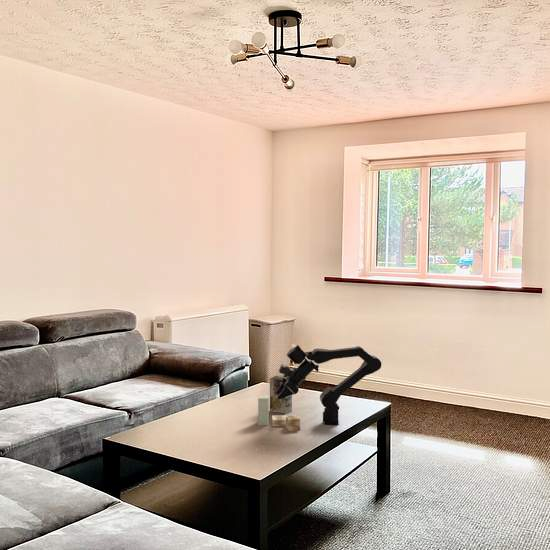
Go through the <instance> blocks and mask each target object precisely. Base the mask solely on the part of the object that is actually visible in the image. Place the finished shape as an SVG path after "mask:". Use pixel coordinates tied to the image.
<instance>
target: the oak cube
mask: <svg viewBox="0 0 550 550" xmlns="http://www.w3.org/2000/svg"><path fill="white" fill-rule="evenodd" d="M285 429H286V430H294V431H301V418H300V417H299V416H298V415H288V416H286V426H285Z"/></svg>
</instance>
